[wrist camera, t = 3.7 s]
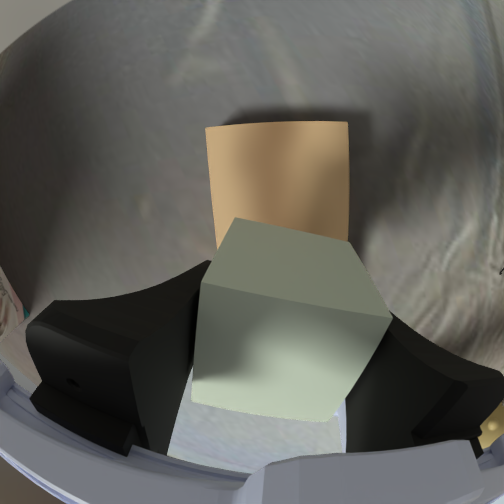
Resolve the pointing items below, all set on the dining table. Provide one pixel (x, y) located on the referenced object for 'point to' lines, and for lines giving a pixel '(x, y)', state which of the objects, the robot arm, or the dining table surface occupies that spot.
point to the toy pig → (492, 427)
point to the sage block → (284, 323)
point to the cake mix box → (9, 308)
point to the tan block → (281, 176)
